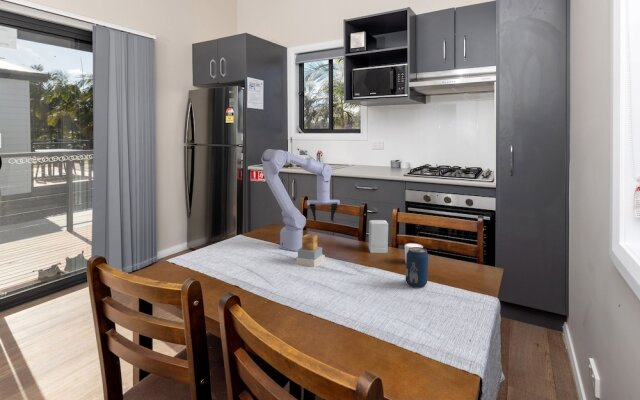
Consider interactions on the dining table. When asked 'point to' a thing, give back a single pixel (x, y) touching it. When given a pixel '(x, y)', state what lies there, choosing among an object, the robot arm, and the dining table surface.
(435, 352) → the dining table surface
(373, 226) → the supplement box
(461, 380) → the dining table surface
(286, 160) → the robot arm
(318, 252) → the slate top block
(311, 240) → the orange block
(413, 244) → the white cylinder
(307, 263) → the cream base block
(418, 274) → the soda can
